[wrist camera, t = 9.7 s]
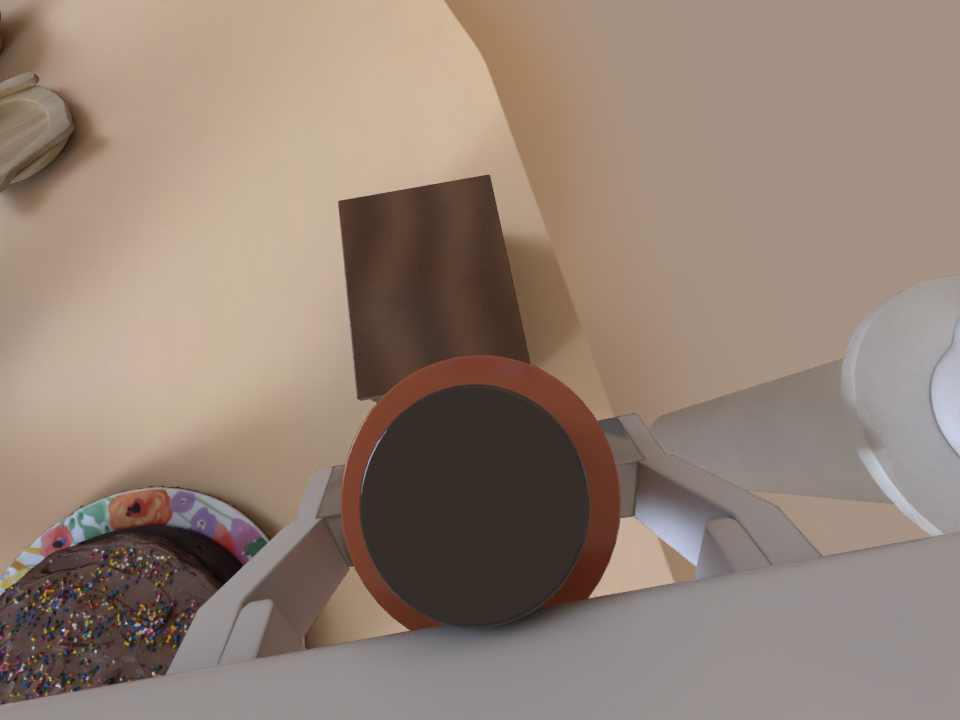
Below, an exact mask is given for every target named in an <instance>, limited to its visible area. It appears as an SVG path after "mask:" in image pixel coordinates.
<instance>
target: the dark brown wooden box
mask: <svg viewBox="0 0 960 720" xmlns="http://www.w3.org/2000/svg"><path fill="white" fill-rule="evenodd" d="M338 205H339V216H340V226H341V236H342V247H343V257H344V267H345V277H346V288H347V298H348V308H349V318H350V329H351V339H352V349H353V360H354V370H355V380H356V390H357V399H359V400H361V401H362V400H368V399H371V400H373V401H375V402H376V403H378V402H379V400H380V399H381V398H382V397H383V396H384V395H385V394H386V393H387V392H388V391H390V390H391V389H392V388H393V387H394V386H395V385H396V384H398V383H399V382H400V381H402V380H403V379H405V378H406V377H408V376H409V375H411V374H413V373H414V372H416V371H418V370H420V369H422V368H424V367H426V366H429V365H431V364H434V363H437V362H439V361H442V360H447V359H451V358H455V357H461V356H470V355H492V356H499V357H506V358H511V359H514V360H518V361H521V362H525V363H527V364H530V359H529V355H528V350H527V345H526V341H525V336H524V331H523V327H522V322H521V317H520V313H519V308H518V304H517V299H516V294H515V290H514V285H513V280H512V276H511V271H510V266H509V262H508V257H507V252H506V248H505V243H504V238H503V234H502V229H501V225H500V220H499V215H498V211H497V206H496V201H495V197H494V192H493V187H492V183H491V178H490V175H484V176H479V177H473V178H467V179H462V180H456V181H450V182H444V183H439V184H433V185H427V186H422V187H416V188H410V189H404V190H399V191H393V192H387V193H382V194H376V195H370V196H364V197H359V198H353V199H347V200H341V201H338ZM530 365H531V364H530Z"/></svg>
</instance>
